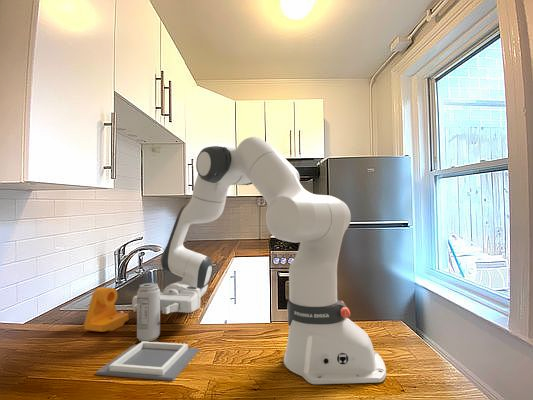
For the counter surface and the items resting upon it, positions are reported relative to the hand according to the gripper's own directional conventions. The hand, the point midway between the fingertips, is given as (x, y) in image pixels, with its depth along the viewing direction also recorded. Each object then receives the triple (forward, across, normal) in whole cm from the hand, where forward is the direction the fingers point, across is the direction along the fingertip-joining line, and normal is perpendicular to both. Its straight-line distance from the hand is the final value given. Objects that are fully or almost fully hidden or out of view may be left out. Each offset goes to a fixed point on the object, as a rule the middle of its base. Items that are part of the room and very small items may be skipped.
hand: (149, 309), depth 85 cm
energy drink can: (0, 0, +8) cm, 8 cm away
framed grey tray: (+12, +9, +8) cm, 17 cm away
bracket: (-5, -19, +8) cm, 21 cm away
